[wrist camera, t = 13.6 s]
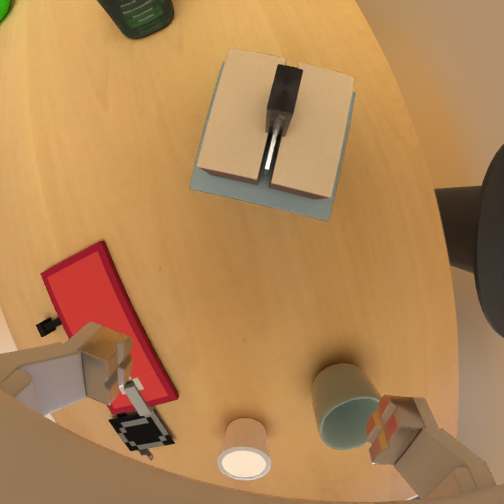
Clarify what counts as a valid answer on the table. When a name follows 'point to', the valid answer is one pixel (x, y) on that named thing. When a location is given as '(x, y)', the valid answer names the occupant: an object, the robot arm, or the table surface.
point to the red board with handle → (119, 319)
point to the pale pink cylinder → (244, 450)
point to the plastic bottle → (4, 8)
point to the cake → (286, 148)
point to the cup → (343, 405)
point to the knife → (281, 105)
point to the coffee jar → (139, 15)
